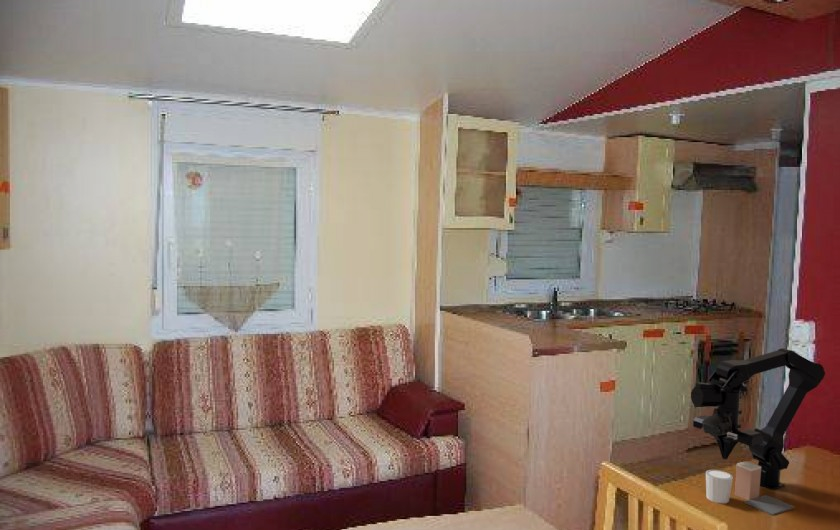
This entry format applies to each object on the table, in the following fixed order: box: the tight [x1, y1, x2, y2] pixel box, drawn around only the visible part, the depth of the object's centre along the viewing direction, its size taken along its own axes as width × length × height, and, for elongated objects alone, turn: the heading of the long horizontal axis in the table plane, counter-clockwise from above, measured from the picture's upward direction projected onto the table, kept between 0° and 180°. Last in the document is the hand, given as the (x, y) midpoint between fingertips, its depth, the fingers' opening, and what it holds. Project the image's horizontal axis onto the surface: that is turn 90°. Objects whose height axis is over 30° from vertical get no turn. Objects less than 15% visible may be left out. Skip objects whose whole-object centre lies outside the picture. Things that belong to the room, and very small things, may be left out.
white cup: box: [705, 469, 734, 504], centre depth 176 cm, size 7×7×7 cm
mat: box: [743, 494, 796, 516], centre depth 173 cm, size 10×8×1 cm
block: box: [734, 460, 761, 501], centre depth 178 cm, size 4×4×9 cm
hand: (724, 458), depth 184 cm, fingers closed
